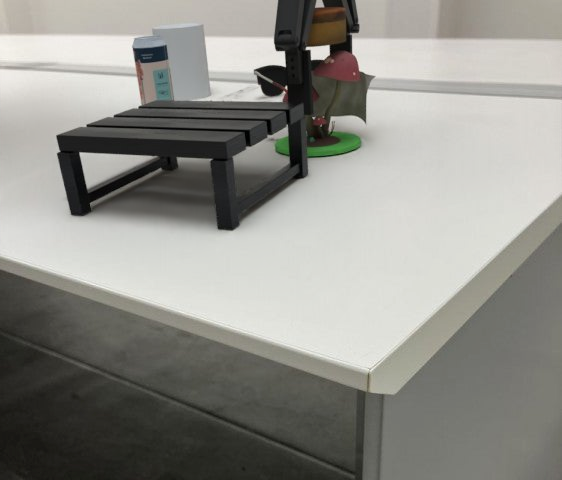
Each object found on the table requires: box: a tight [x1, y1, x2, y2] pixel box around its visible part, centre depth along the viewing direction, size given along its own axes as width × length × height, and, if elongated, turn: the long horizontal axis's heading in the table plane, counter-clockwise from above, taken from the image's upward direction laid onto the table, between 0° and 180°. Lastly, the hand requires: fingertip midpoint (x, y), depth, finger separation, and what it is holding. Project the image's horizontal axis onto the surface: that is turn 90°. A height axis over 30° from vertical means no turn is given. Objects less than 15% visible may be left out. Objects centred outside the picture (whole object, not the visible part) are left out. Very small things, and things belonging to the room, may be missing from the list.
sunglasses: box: [253, 59, 325, 98], centre depth 110 cm, size 14×16×5 cm
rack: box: [55, 100, 309, 231], centre depth 69 cm, size 18×18×8 cm
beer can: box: [131, 35, 174, 105], centre depth 97 cm, size 5×5×12 cm
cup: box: [151, 22, 213, 101], centre depth 111 cm, size 8×8×12 cm
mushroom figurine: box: [274, 6, 376, 157], centre depth 80 cm, size 12×13×15 cm
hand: (322, 102), depth 82 cm, fingers open, 13 cm apart
